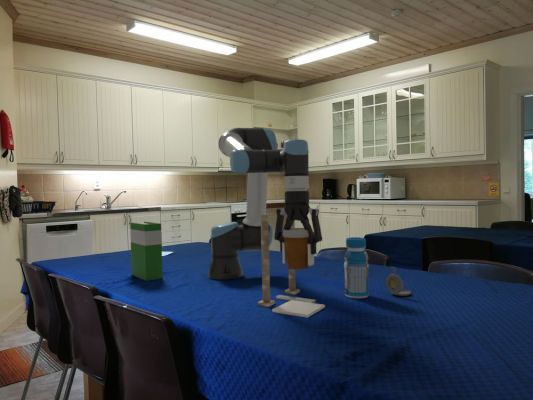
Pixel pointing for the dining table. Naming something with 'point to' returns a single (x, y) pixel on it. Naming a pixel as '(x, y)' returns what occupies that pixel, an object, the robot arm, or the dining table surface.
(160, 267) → the hardback book
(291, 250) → the disposable coffee cup
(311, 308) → the tile
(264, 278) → the gate posts
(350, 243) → the beverage bottle
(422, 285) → the dining table surface
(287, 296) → the guide strip
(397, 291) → the pocket watch
